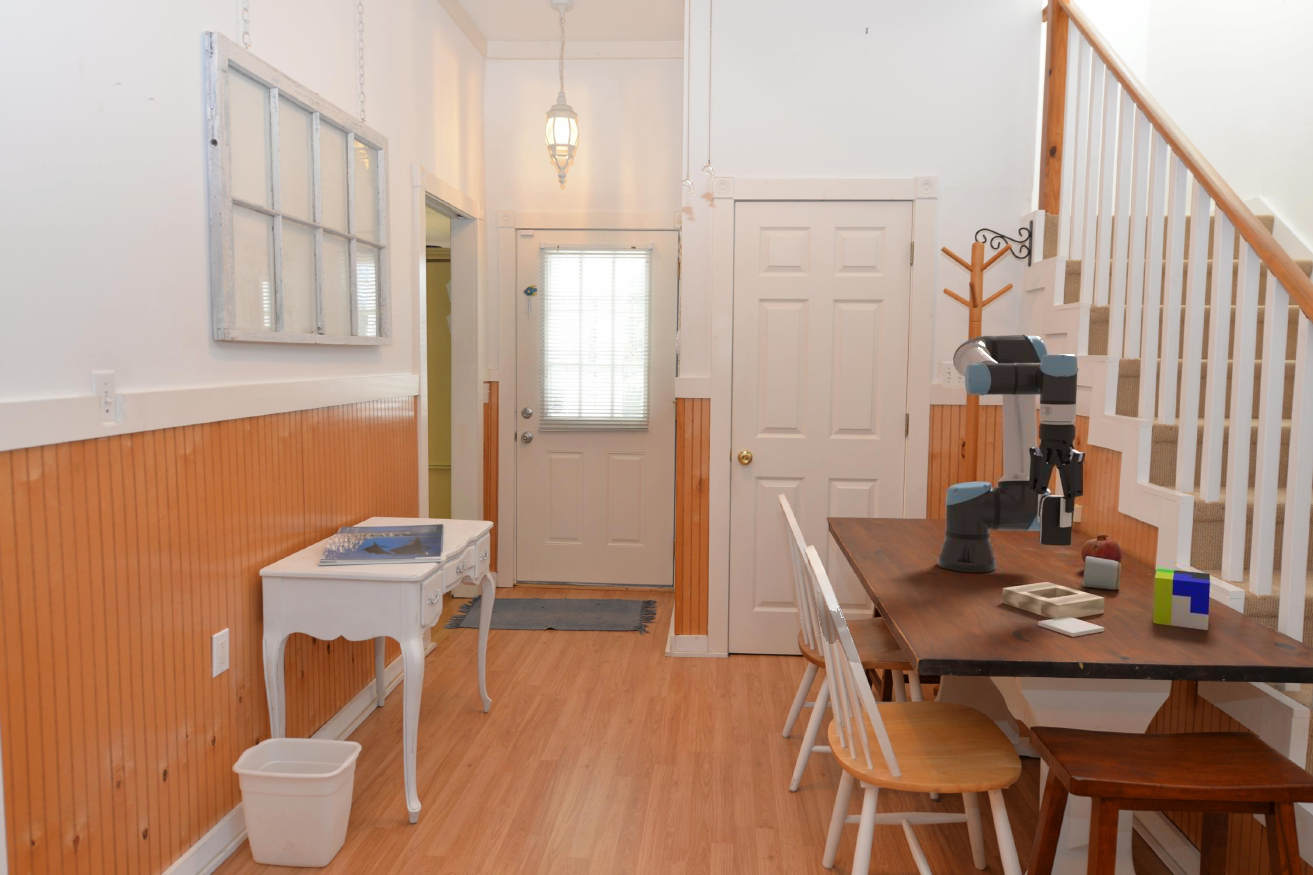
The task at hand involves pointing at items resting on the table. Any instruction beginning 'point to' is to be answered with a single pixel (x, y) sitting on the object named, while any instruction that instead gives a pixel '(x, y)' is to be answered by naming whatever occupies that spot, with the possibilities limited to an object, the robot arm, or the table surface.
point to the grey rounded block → (1101, 573)
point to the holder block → (1053, 600)
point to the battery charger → (1052, 522)
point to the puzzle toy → (1181, 598)
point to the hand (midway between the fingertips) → (1054, 524)
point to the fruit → (1102, 549)
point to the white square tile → (1071, 626)
